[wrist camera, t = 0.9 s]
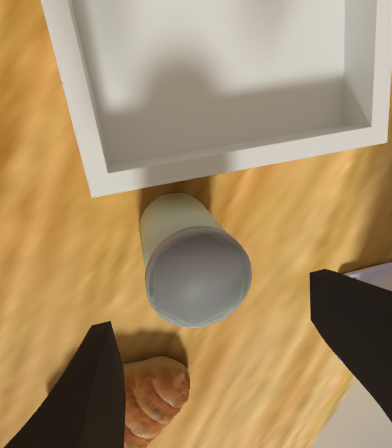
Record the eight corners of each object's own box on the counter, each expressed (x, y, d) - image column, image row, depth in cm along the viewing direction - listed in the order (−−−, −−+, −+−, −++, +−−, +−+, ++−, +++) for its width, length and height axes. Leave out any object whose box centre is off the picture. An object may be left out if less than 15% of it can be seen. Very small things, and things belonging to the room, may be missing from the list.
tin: (206, 184, 20) (247, 220, 14) (215, 252, 22) (255, 313, 16) (130, 198, 20) (135, 244, 13) (145, 268, 21) (156, 338, 15)
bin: (359, -128, 17) (405, -174, 14) (352, 137, 21) (387, 142, 19) (22, -111, 14) (-1, -162, 12) (95, 184, 19) (91, 197, 16)
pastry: (158, 326, 23) (166, 365, 20) (204, 386, 26) (217, 430, 22) (39, 397, 23) (25, 451, 20) (97, 451, 26) (94, 506, 22)
